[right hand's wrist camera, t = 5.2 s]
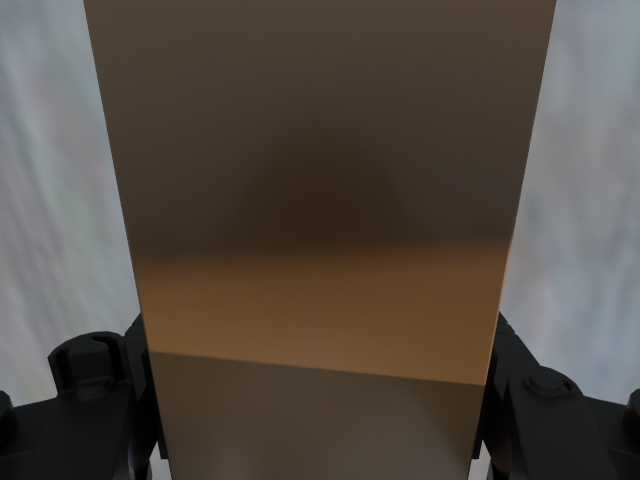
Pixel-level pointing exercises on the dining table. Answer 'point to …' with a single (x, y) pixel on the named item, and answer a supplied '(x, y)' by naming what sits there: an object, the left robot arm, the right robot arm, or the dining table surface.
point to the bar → (319, 221)
